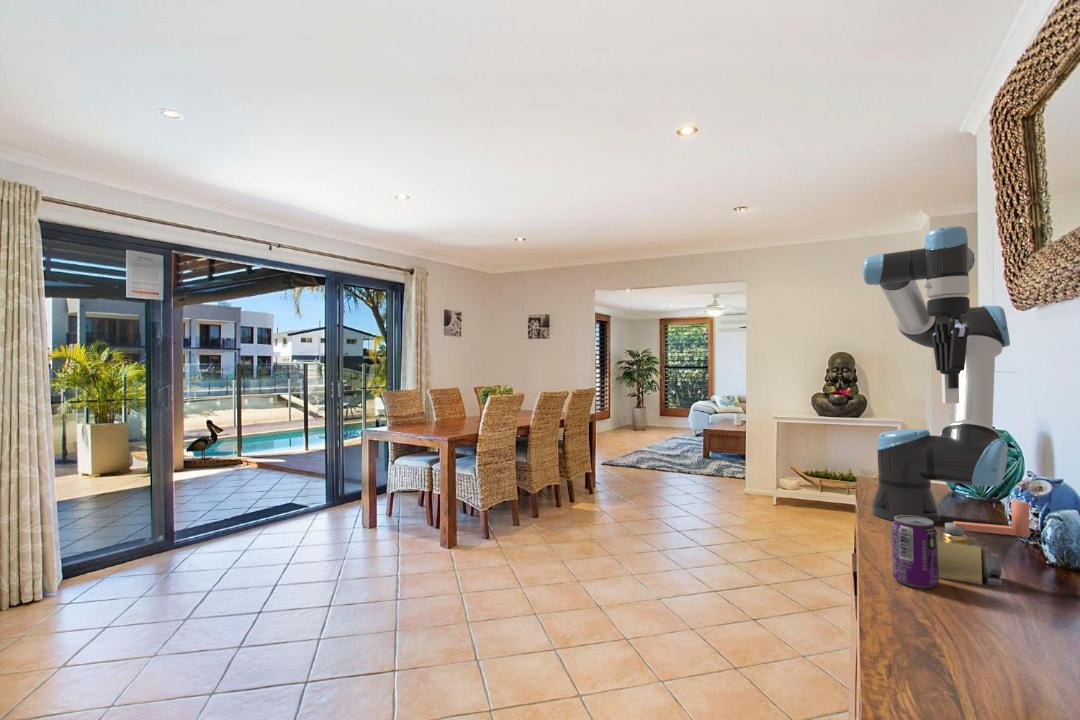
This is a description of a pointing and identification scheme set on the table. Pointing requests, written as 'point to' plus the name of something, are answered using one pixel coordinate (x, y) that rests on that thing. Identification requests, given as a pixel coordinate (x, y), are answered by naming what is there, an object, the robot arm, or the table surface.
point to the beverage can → (915, 551)
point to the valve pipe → (966, 560)
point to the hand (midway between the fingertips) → (951, 403)
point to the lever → (1018, 525)
